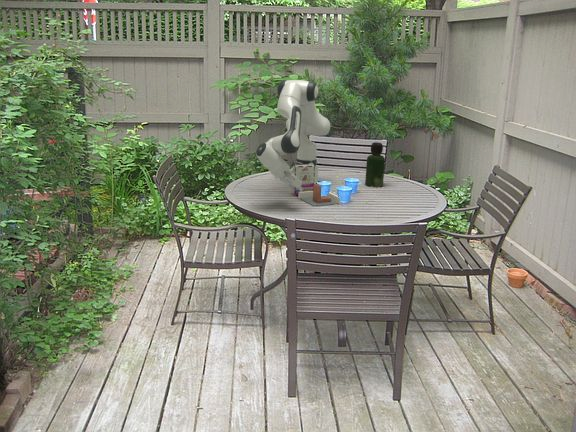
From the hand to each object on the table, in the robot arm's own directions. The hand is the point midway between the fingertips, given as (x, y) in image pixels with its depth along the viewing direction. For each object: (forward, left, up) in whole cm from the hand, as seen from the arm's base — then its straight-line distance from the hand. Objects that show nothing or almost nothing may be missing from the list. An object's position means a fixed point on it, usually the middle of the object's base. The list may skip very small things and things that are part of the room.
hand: (297, 188), depth 321 cm
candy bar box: (-18, +13, -9) cm, 24 cm away
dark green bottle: (-26, +64, -9) cm, 70 cm away
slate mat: (-2, +14, -9) cm, 17 cm away
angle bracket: (0, +15, -8) cm, 17 cm away
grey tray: (-3, +15, -9) cm, 17 cm away
